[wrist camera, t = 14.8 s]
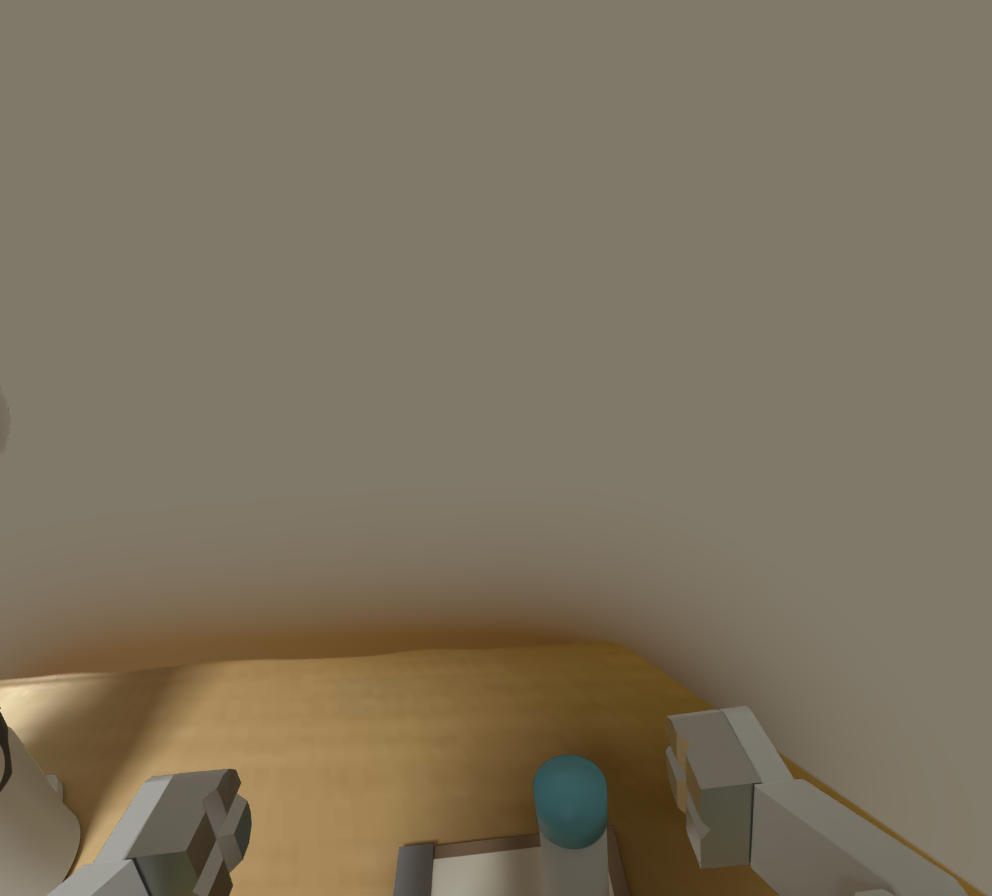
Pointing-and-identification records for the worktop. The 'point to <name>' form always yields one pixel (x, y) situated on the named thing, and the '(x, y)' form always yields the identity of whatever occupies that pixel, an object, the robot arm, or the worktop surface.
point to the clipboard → (488, 868)
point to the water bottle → (572, 826)
